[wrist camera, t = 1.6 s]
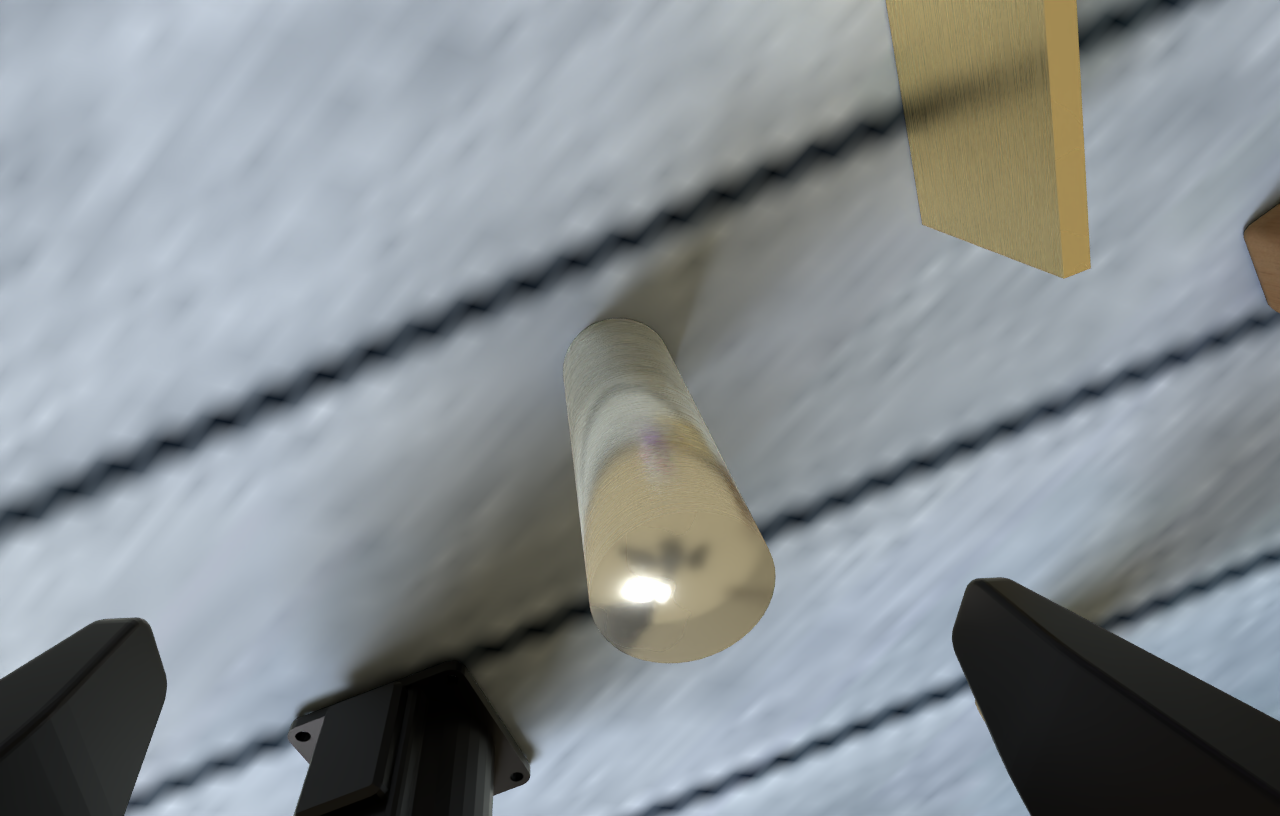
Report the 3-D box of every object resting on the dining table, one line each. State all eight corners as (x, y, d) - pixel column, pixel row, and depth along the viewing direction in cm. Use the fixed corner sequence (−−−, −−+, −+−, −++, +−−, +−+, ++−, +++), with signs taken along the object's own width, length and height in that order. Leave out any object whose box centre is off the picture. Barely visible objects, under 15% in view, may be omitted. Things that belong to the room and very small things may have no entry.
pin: (684, 395, 22) (795, 623, 13) (586, 433, 22) (627, 686, 13) (650, 301, 20) (747, 483, 11) (545, 342, 20) (559, 555, 11)
